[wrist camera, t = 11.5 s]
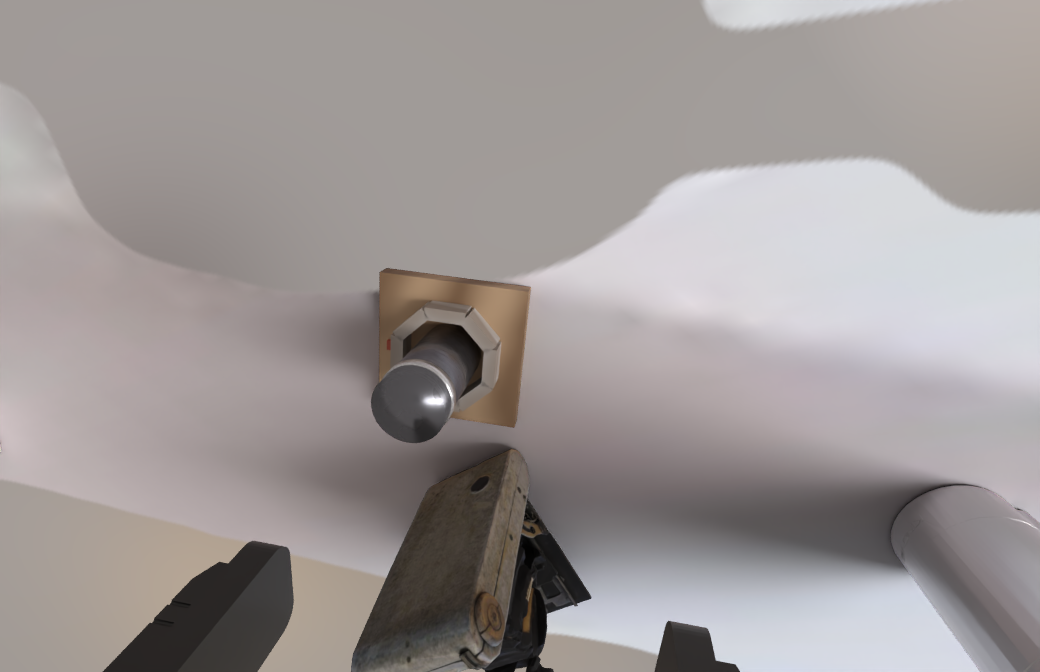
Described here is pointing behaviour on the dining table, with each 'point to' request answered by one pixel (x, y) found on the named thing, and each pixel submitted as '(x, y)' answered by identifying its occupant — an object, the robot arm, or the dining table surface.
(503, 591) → the vintage camera
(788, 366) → the dining table surface
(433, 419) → the lens
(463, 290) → the mount
